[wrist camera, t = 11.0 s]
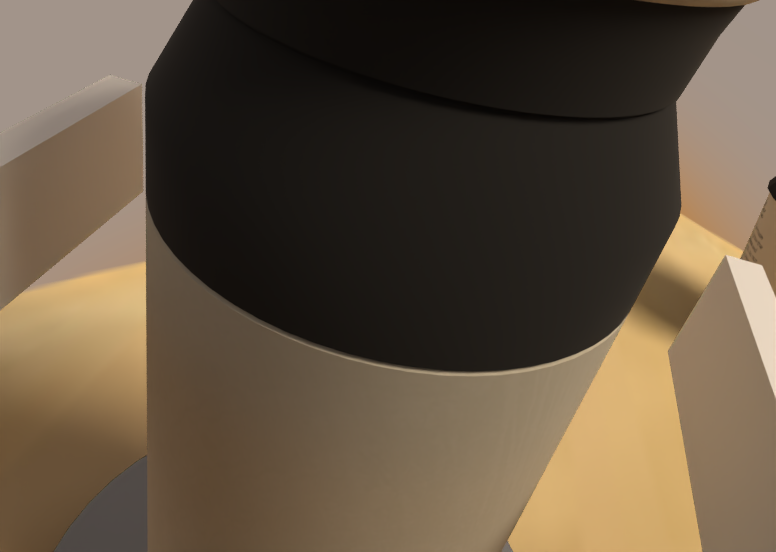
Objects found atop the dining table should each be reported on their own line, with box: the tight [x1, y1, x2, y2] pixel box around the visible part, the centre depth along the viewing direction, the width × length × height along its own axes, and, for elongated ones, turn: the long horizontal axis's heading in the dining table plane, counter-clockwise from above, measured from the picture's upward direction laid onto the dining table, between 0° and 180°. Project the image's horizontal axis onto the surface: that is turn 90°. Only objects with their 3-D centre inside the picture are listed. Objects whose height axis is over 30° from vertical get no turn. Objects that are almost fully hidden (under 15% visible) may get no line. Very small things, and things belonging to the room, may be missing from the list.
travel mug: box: [145, 0, 759, 552], centre depth 14 cm, size 8×8×18 cm
